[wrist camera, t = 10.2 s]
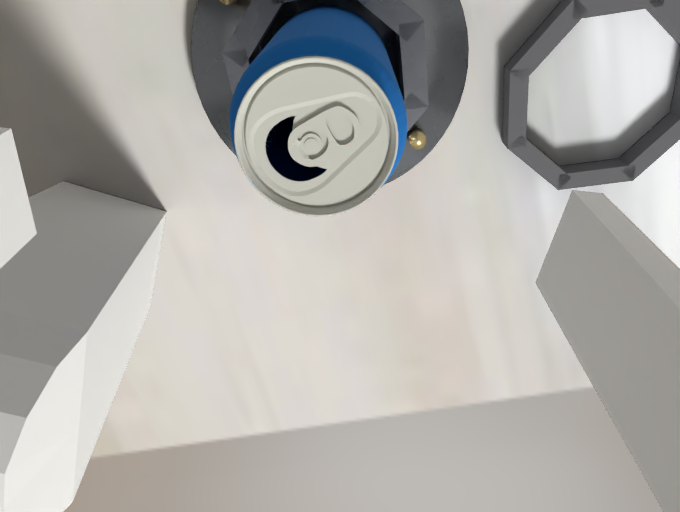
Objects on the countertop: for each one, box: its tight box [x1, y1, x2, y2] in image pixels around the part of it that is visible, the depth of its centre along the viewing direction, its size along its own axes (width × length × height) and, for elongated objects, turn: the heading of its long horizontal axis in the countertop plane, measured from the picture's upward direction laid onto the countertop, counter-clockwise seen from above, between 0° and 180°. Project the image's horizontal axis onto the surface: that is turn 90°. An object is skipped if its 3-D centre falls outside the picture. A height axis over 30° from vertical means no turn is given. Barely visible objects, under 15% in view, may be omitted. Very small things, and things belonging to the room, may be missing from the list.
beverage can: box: [229, 5, 407, 216], centre depth 22 cm, size 6×6×12 cm
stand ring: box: [502, 0, 680, 190], centre depth 28 cm, size 10×10×1 cm
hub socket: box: [191, 0, 469, 184], centre depth 27 cm, size 15×15×3 cm
